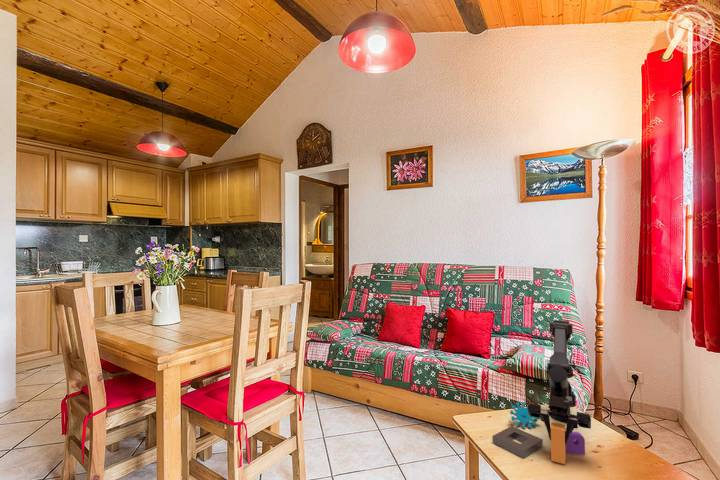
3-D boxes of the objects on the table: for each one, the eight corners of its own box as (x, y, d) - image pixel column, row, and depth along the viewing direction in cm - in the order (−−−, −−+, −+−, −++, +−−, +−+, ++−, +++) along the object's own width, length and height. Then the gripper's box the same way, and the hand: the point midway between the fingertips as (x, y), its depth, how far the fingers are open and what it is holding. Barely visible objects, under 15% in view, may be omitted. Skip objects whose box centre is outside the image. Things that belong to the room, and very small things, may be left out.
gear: (509, 423, 142) (510, 398, 149) (507, 428, 147) (508, 404, 153) (541, 431, 139) (540, 405, 145) (538, 436, 143) (537, 411, 150)
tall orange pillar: (552, 454, 124) (551, 422, 124) (565, 457, 122) (565, 425, 122) (551, 460, 120) (550, 427, 120) (565, 464, 118) (564, 430, 118)
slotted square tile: (511, 432, 139) (511, 425, 139) (542, 446, 129) (542, 439, 129) (492, 442, 132) (492, 436, 132) (523, 458, 123) (523, 451, 123)
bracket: (585, 455, 124) (584, 435, 124) (563, 453, 125) (562, 433, 125) (572, 436, 136) (571, 418, 136) (552, 435, 137) (551, 417, 137)
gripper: (527, 379, 129) (524, 425, 120) (590, 390, 119) (591, 440, 110) (530, 393, 136) (527, 437, 126) (590, 404, 126) (591, 452, 117)
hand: (557, 441), depth 120 cm, fingers closed on tall orange pillar, 4 cm apart
